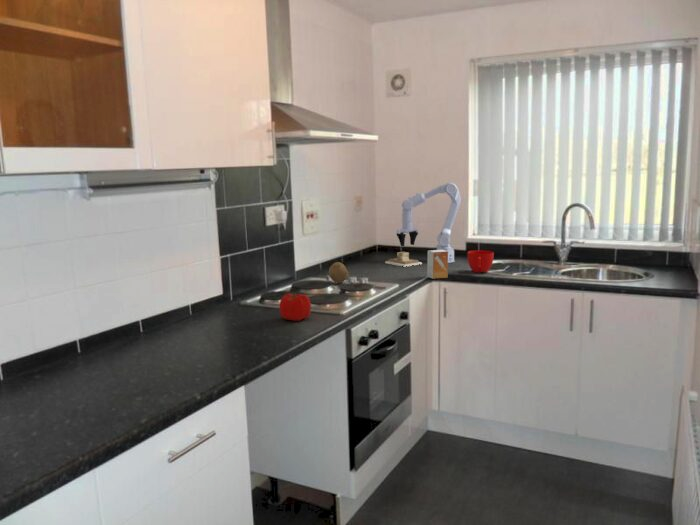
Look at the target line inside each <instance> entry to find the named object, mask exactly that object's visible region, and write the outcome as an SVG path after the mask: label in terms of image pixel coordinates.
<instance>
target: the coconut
mask: <svg viewBox="0 0 700 525" xmlns="http://www.w3.org/2000/svg"><path fill="white" fill-rule="evenodd" d="M328 276H329V278H331V280H332V281H333V282H334V283H336V282H337V283H336V284H338V283H339V284H341V283H340V282H342V283H343V282H344V281H346V280H347V279H349V277H350V276H349V271H348V270H347V267H346V266H345V265H344V264H343V263H342V262H340V261H337V262H334V263H332V264H331V265H330V266H329V269H328Z"/></svg>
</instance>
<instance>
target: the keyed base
mask: <svg viewBox="0 0 700 525" xmlns="http://www.w3.org/2000/svg"><path fill="white" fill-rule="evenodd" d="M393 259H397V257H395V258H390V259H388V260H386V261H385V262H384V264H386V265H393V266H397V267H402V266H403V267H404V268H406V266H407V267H411V266H412V265H414V266H419V264H420V265H423V262H421V261H419V260H418V259H413V258H409V260H413V261H408V262H404V261H398V260H393ZM412 267H413V266H412Z"/></svg>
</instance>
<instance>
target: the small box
mask: <svg viewBox="0 0 700 525" xmlns="http://www.w3.org/2000/svg"><path fill="white" fill-rule="evenodd" d="M426 265H427V267H426V268H427V269H426V270H427V271H426V272H427V273H426V274H427V275H426V276H427V278H430V279H432V280H435V279H448V274H449V272H448V270H449V263H448V251H445V250H437V249H433V250H432V249H431V250H427V264H426Z"/></svg>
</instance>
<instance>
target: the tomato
mask: <svg viewBox="0 0 700 525" xmlns="http://www.w3.org/2000/svg"><path fill="white" fill-rule="evenodd" d="M278 308H279V313H280V316H281V317H282V318H283V319H284V320H288V321H293V322H300V321H302V320H306V319H307V318H309V316H310V314H311V311H312V303H311V300H310V297H308V295H306V294H301V293H295V294H292V293H285V294H284V295H283V297H282V298H281V300H280V302H279V307H278Z"/></svg>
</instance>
